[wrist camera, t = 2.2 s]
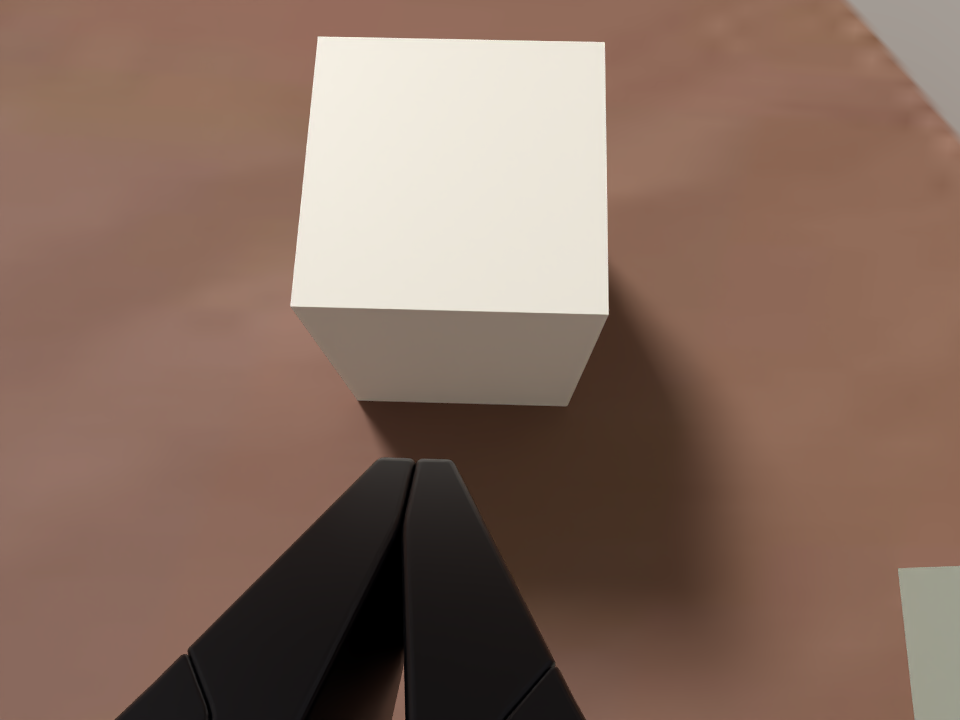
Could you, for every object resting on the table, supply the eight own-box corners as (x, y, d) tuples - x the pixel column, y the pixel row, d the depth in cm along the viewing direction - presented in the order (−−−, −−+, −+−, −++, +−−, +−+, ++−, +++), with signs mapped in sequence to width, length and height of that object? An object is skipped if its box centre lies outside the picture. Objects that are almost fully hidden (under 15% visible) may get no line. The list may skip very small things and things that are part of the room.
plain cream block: (567, 406, 22) (608, 314, 15) (357, 400, 23) (290, 306, 15) (567, 215, 24) (604, 41, 16) (372, 210, 24) (317, 36, 16)
